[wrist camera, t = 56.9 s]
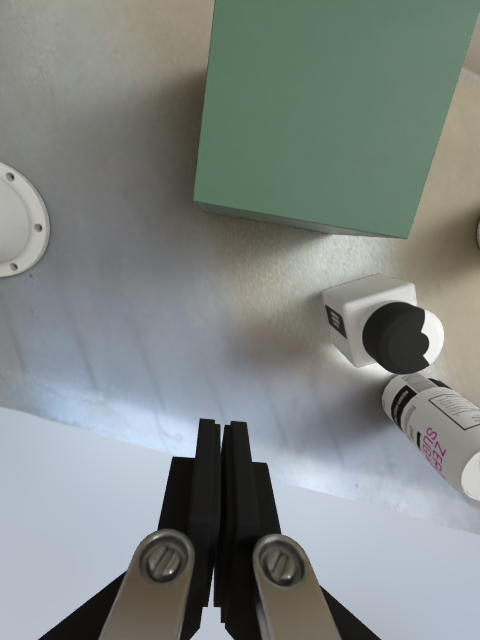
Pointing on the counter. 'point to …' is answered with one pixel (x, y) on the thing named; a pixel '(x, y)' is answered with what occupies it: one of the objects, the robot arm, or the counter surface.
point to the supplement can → (438, 427)
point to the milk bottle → (478, 233)
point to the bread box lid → (328, 107)
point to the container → (382, 324)
